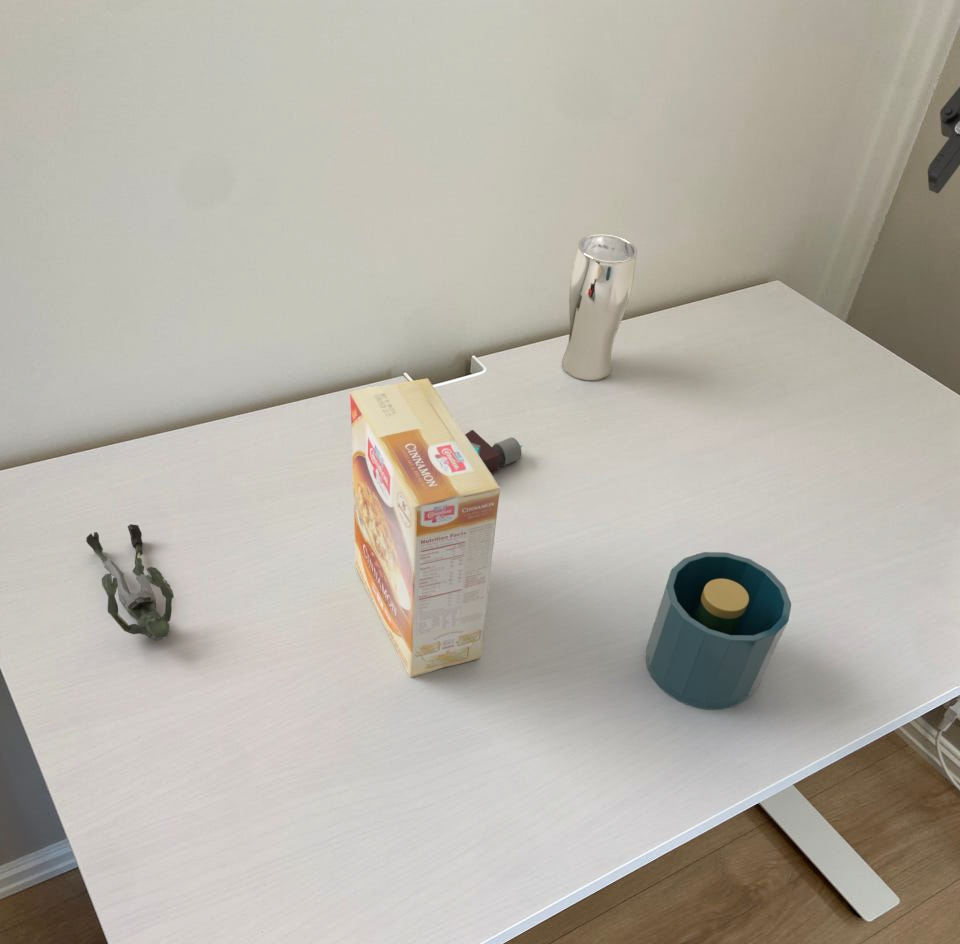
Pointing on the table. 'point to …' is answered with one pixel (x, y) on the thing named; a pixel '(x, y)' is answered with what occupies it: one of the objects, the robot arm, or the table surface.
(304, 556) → the table surface
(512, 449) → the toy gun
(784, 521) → the table surface
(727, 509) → the table surface
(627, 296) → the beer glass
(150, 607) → the zombie figurine
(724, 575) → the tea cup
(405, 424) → the coffeecake box
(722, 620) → the tea tin
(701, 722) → the table surface
